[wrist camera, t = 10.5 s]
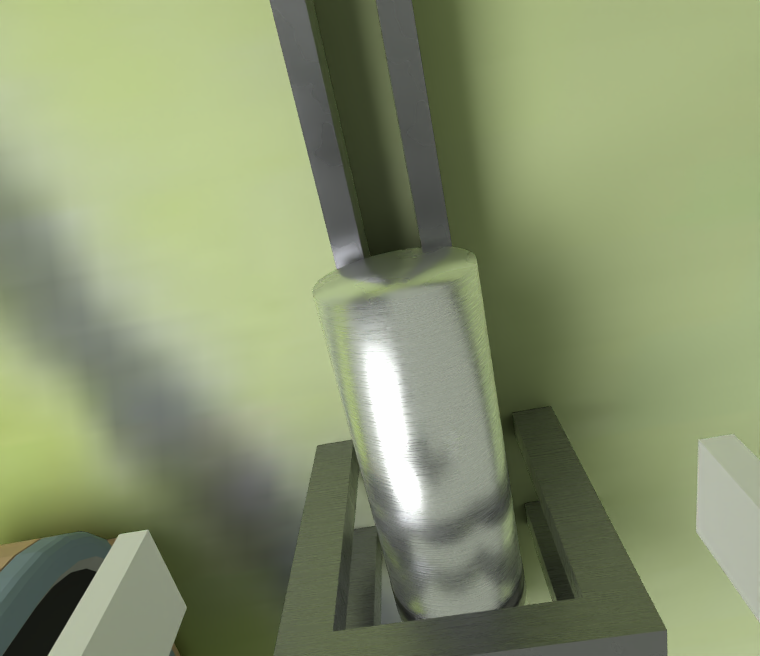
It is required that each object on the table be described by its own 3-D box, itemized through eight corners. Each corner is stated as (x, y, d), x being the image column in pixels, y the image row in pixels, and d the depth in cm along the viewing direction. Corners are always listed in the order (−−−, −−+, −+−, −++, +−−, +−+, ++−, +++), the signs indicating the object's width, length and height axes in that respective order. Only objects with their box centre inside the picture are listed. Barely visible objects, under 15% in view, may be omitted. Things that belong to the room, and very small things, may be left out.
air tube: (322, 265, 23) (299, 319, 17) (466, 236, 22) (490, 282, 17) (417, 633, 31) (422, 750, 26) (525, 619, 31) (554, 735, 25)
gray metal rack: (135, -154, 20) (-250, -531, 8) (480, -252, 19) (641, -871, 7) (368, 613, 35) (356, 888, 23) (570, 585, 33) (670, 860, 21)
